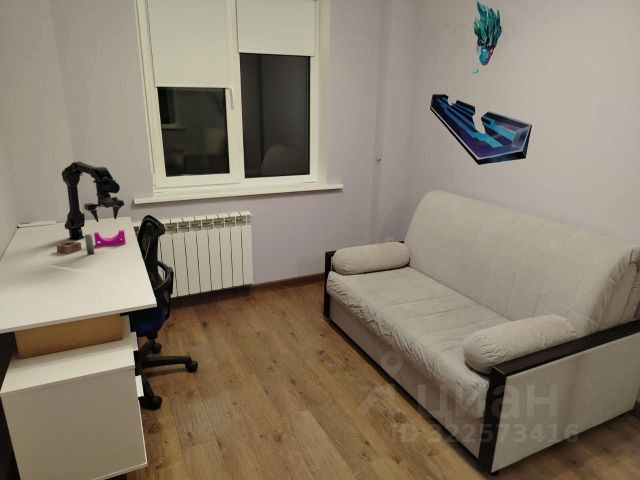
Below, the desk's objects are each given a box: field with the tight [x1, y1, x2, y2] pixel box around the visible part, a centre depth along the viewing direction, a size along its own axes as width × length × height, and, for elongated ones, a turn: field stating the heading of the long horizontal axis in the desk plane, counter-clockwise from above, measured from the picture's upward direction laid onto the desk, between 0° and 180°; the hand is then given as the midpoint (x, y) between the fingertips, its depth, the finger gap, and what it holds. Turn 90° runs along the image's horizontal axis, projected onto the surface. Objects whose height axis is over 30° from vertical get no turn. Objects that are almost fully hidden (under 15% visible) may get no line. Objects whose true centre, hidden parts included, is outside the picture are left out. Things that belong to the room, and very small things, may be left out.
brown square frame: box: [55, 240, 83, 255], centre depth 233 cm, size 8×8×4 cm
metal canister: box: [84, 233, 95, 256], centre depth 228 cm, size 3×3×10 cm
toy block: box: [93, 229, 127, 248], centre depth 246 cm, size 15×6×8 cm, turn 114°
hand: (106, 220), depth 237 cm, fingers open, 9 cm apart
